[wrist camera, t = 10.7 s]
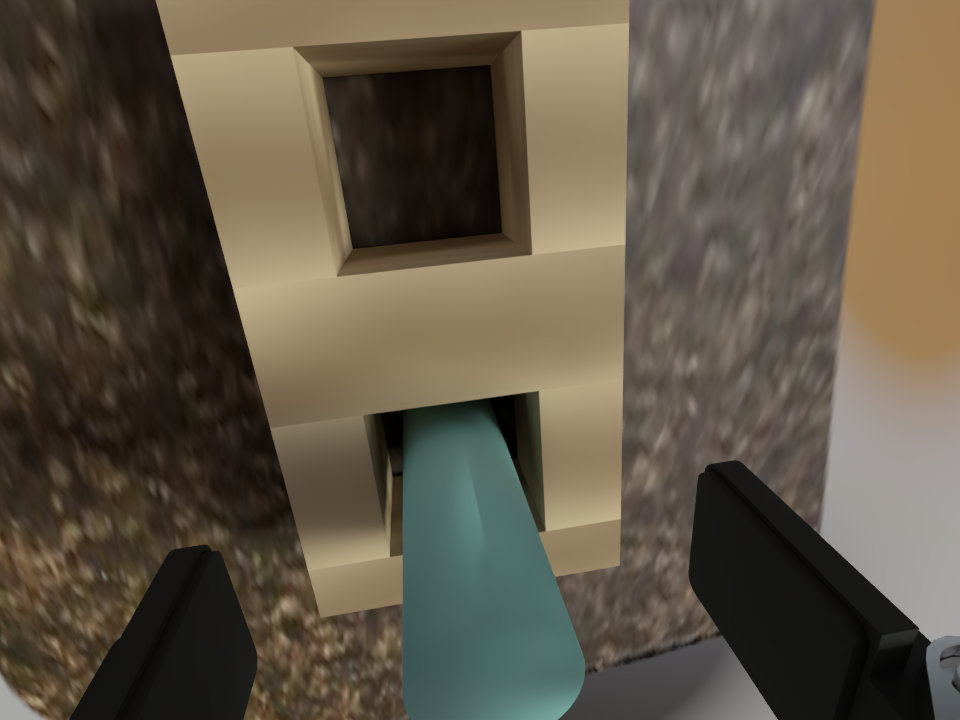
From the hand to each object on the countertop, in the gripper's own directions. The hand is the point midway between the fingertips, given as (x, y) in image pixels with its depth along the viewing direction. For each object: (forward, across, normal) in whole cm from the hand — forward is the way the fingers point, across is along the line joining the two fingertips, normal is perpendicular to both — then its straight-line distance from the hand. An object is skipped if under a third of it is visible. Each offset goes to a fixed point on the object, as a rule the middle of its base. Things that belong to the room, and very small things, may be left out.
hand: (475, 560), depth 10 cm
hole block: (+8, 0, -3) cm, 8 cm away
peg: (+8, 0, +1) cm, 8 cm away
